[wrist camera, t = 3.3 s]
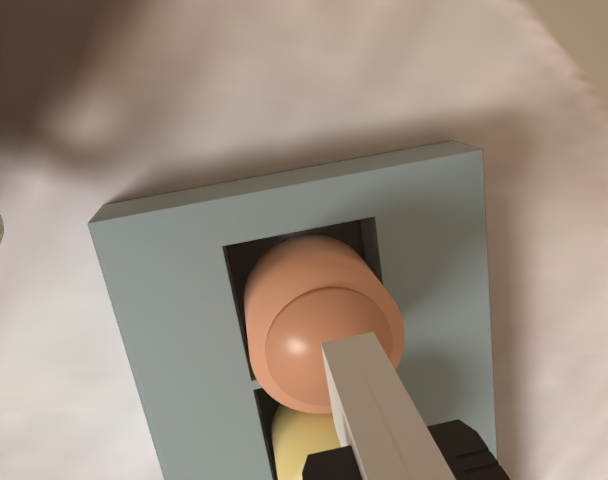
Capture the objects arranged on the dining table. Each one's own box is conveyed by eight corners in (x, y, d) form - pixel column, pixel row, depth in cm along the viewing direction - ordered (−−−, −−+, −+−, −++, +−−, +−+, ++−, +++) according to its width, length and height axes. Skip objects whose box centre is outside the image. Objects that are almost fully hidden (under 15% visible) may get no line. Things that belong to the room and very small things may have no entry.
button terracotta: (256, 367, 21) (265, 434, 17) (231, 249, 20) (234, 293, 16) (379, 340, 22) (414, 400, 18) (365, 222, 20) (400, 260, 16)
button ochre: (282, 487, 23) (295, 571, 19) (261, 388, 22) (270, 459, 18) (394, 460, 24) (428, 537, 20) (382, 362, 22) (417, 424, 18)
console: (216, 600, 27) (216, 653, 25) (103, 204, 21) (87, 223, 18) (478, 533, 29) (502, 577, 26) (452, 140, 22) (482, 149, 19)
